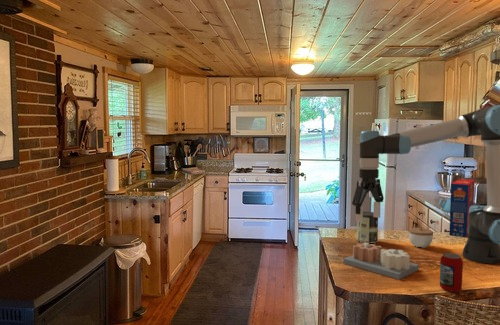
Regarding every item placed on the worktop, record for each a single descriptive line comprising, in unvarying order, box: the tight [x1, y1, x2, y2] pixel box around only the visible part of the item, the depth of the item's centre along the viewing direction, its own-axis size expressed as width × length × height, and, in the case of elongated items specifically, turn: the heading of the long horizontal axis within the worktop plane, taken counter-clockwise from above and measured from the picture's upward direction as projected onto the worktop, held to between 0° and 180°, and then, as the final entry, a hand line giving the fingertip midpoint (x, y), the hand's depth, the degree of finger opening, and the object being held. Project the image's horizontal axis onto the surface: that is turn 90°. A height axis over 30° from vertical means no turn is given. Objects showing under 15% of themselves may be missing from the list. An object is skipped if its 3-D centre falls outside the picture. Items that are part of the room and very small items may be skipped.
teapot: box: [438, 197, 451, 214], centre depth 267 cm, size 15×15×11 cm
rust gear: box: [352, 242, 382, 263], centre depth 157 cm, size 10×10×5 cm
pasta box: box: [448, 178, 476, 239], centre depth 210 cm, size 28×8×28 cm, turn 144°
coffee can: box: [356, 211, 379, 244], centre depth 190 cm, size 10×10×14 cm
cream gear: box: [380, 248, 411, 270], centre depth 148 cm, size 10×10×5 cm
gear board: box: [343, 243, 420, 280], centre depth 153 cm, size 24×16×8 cm, turn 42°
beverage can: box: [439, 252, 464, 293], centre depth 130 cm, size 7×7×12 cm
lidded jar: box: [408, 226, 434, 249], centre depth 181 cm, size 11×11×9 cm
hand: (368, 219), depth 156 cm, fingers open, 13 cm apart
